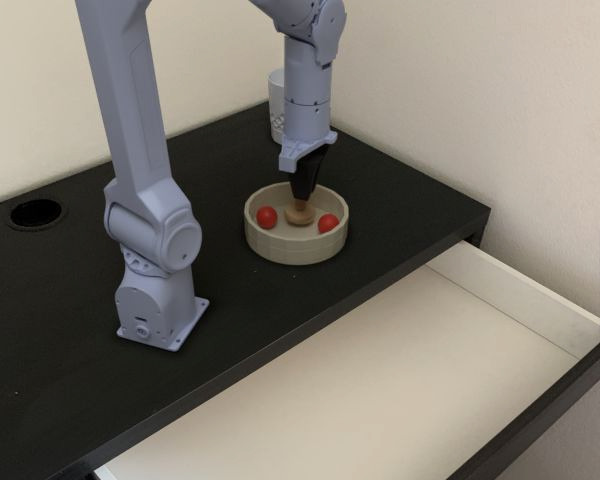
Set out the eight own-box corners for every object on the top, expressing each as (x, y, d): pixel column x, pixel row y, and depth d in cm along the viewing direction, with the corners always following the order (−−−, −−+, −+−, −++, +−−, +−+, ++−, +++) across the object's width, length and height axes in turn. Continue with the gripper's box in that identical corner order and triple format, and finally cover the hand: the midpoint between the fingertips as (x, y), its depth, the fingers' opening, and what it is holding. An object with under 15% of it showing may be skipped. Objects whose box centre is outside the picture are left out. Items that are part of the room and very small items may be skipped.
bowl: (328, 274, 88) (330, 249, 85) (229, 251, 90) (228, 226, 87) (358, 217, 96) (360, 193, 93) (267, 198, 99) (266, 173, 96)
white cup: (311, 151, 109) (313, 89, 101) (264, 146, 110) (263, 84, 102) (317, 128, 114) (320, 68, 106) (273, 123, 115) (272, 63, 107)
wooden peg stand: (295, 228, 92) (300, 176, 86) (278, 211, 94) (281, 160, 88) (321, 219, 94) (327, 167, 87) (303, 203, 96) (308, 152, 90)
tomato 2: (328, 243, 91) (333, 225, 89) (311, 232, 92) (315, 215, 90) (340, 234, 93) (345, 217, 91) (324, 224, 94) (328, 206, 92)
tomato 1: (268, 235, 92) (270, 217, 90) (251, 226, 93) (252, 208, 91) (281, 225, 94) (282, 207, 92) (263, 216, 95) (264, 198, 92)
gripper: (319, 127, 75) (314, 229, 86) (355, 77, 85) (346, 174, 95) (262, 116, 77) (263, 217, 87) (303, 68, 86) (300, 164, 96)
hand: (303, 194), depth 91 cm, fingers closed on wooden peg stand
